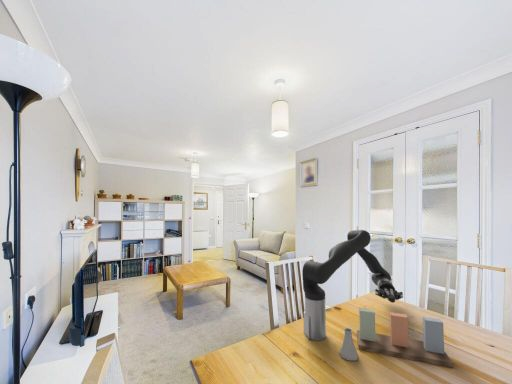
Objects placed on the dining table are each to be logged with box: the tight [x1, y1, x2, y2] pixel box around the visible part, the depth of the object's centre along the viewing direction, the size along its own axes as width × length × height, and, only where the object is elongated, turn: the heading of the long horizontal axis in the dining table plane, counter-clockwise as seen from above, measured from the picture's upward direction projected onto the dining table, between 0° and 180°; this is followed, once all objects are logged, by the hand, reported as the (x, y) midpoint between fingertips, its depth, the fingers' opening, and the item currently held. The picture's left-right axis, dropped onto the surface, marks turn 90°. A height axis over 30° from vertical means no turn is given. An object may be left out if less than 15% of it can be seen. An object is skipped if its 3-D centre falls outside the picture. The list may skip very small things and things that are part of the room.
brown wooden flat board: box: [356, 329, 454, 369], centre depth 98 cm, size 32×12×2 cm, turn 70°
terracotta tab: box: [389, 311, 409, 348], centre depth 98 cm, size 6×3×12 cm, turn 70°
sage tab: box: [358, 307, 376, 342], centre depth 102 cm, size 6×3×12 cm, turn 70°
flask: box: [338, 327, 359, 362], centre depth 94 cm, size 7×7×10 cm
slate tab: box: [422, 316, 445, 354], centre depth 94 cm, size 6×3×12 cm, turn 70°
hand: (392, 300), depth 111 cm, fingers closed
